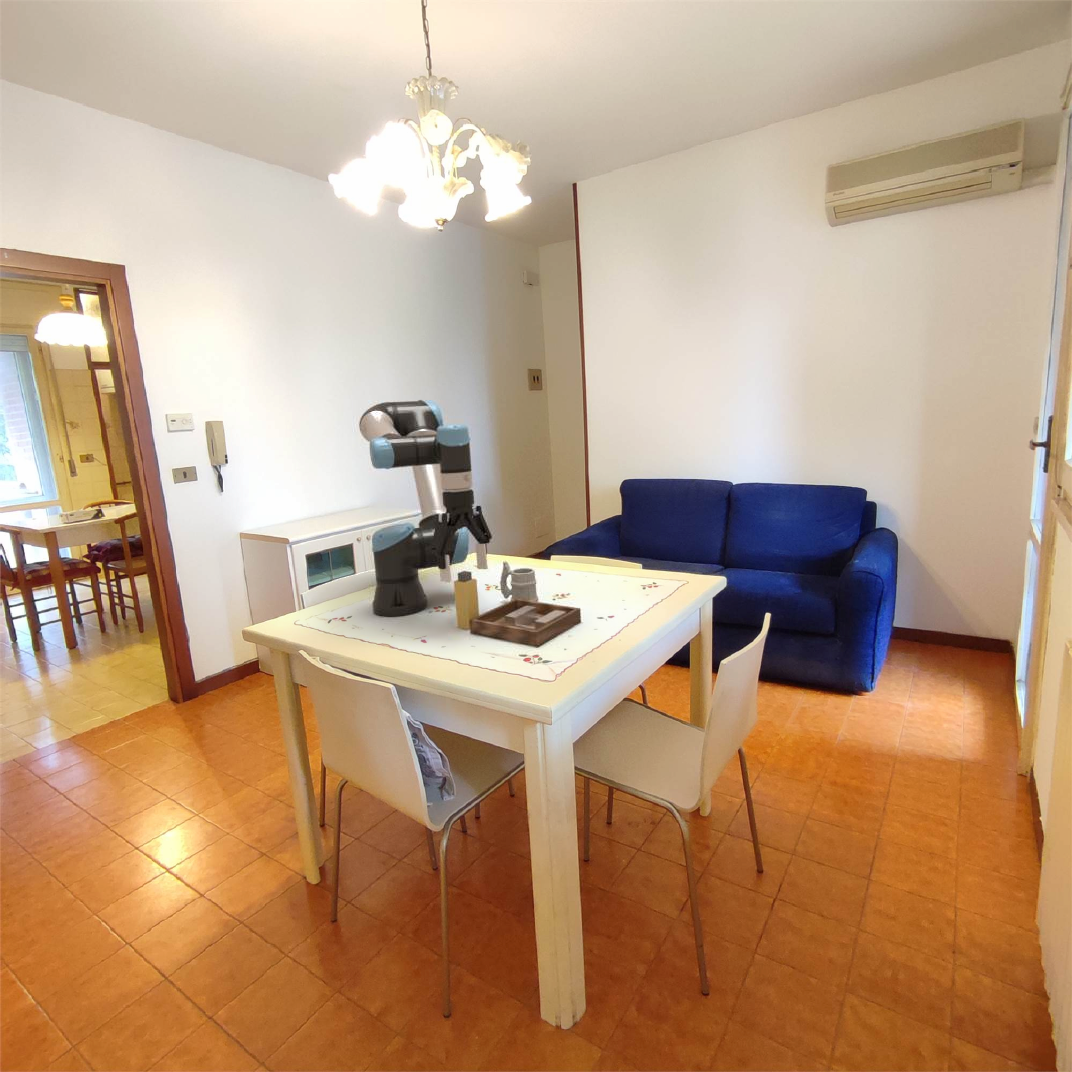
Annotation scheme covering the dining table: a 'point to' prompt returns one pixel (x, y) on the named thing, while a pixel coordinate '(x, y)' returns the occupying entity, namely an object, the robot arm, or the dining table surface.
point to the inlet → (531, 618)
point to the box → (496, 628)
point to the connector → (466, 599)
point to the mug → (519, 583)
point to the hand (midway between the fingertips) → (464, 575)
